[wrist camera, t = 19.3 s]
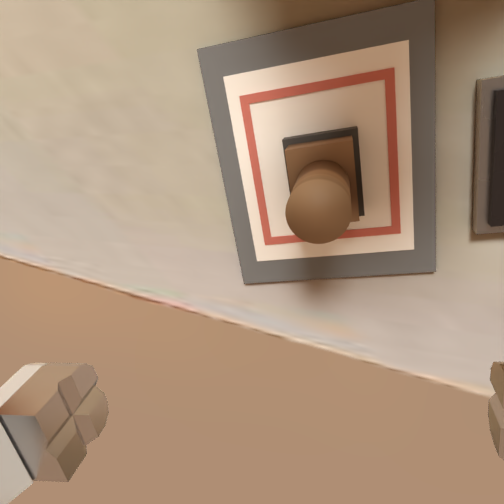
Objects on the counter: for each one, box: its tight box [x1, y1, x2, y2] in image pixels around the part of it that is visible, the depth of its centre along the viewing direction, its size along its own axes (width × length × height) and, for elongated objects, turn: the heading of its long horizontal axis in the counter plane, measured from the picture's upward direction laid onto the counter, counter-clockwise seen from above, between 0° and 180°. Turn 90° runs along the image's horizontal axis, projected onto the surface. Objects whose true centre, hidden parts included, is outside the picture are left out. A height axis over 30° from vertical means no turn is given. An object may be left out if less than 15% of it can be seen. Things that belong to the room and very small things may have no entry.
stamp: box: [282, 126, 365, 244], centre depth 25 cm, size 6×5×9 cm
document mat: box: [197, 0, 436, 284], centre depth 29 cm, size 18×15×1 cm
